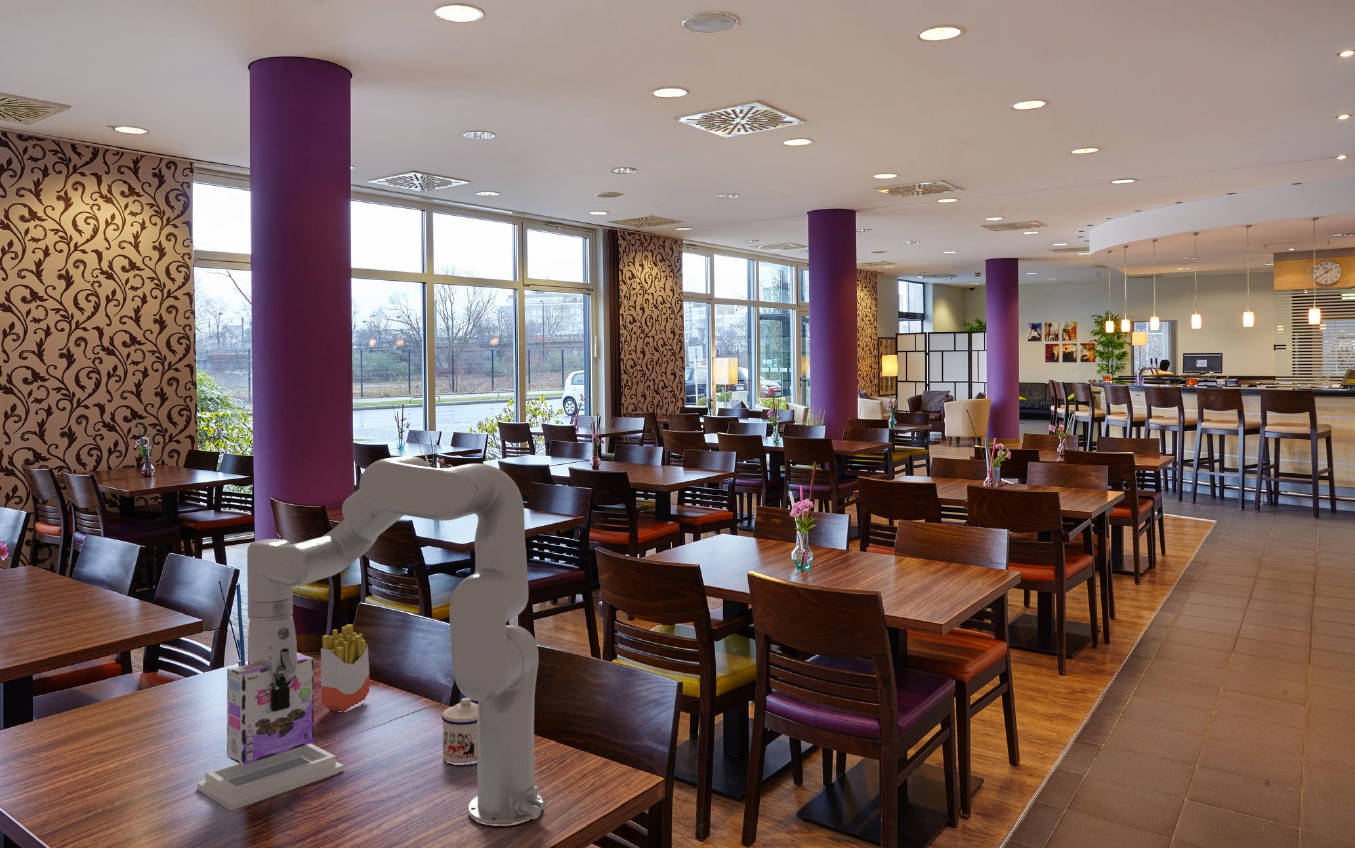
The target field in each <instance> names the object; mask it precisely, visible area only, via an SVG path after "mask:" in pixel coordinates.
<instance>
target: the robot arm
mask: <svg viewBox="0 0 1355 848" xmlns="http://www.w3.org/2000/svg"><path fill="white" fill-rule="evenodd" d="M341 511H342V516H343V520H342V521H341V522H340V523H338V525H336V526H335V527H333V528H332V529H331V530H329V531H328V532H327V533H325V534H324V535H323V536H320V537H316V538H312V539H311V538H310V539H309V540H305V541H301V542H296V543H290V541H288V540H286V539H281V538H266V539H260V540H256V541H253V542H251V543H250V544H249V545H248V547H247V550H246V551H247V553H246V554H247V555H246V558H247V559H246V564H247V567H246V569H247V571H246V573H247V575H246V576H247V578H246V579H247V584H246V585H247V619H248V620H249V621H248V634H247V635H248V636H247V659H248V663H249V664H253V663H255V664H258V665H261V666H263V667H265V668H266V669H267V670H268V673H270V674H271V675H272V684H273V689H272V690H271V711H273V712H275V711H279V710H283V709H286V708H289V706H290V689H289V687H290V686H291V681H292V678H293V676H294V675H295V670H294V669H296V667H297V653H298V648H297V646H298V645H297V634H296V628H295V620H294V616H293V614H294V612H293V611H294V609H293V607H294V604H293V603H294V602H293V598H294V597H293V595H294V594H293V589H294V588H293V587H301V586H305V585H308V584H312V583H314V582H317V581H320V580H323V579H326V578H329V577H333V576H336V575H337V574H339V573H340V572H342V571H344V570H345V569H347V568H348V567H349V566H350V565H352V564H354V562H356V561H357V560H358V559H360V558H361V557H362V556H363V555H365V553H367V552H368V551H369V550H370V549H371V548H372V546H373V545H374V544H375V542H376V541H377V539H378V538H379V536H380V535H381V534H383V533H384V532H385V531H386V530H387V529H389V528H390V527H391V526H393V525H394V524H395V523H397V521H399V520H400V519H402V518H403V517H405V516H407V517H414V518H419V519H424V520H425V519H427V520H433V521H443V522H444V521H452V520H453V521H454V520H457V519H460V518H461V519H462V518H463V517H467V516H470V515H474V514H475V515H476V516H477V525H476V529H475V530H476V531H475V533H474V535H475V536H474V552H475V553H474V554H475V570H474V573H473V574H470V575H469V576H467V577H465V578H464V579H463V580H462V581H460V582H459V583H458V585H457V586H456V587H455V588H454V591H453V593H452V595H451V599H450V603H449V628H450V629H449V633H450V647H451V648H450V650H451V652H450V653H451V665H452V674H453V678H454V681H455V684H456V685H457V688H458V689H459V691H460V692H461V693H462V695H464V696H465V698H469V699H471V701H475V702H478V703H477V704H478V722H477V764H476V765H477V771H476V772H477V774H476V775H477V777H476V779H477V781H476V783H477V784H476V785H477V789H476V790H477V793H476V797H474V798H473V799H472V800H471V801H470V802H469V804H468V807H467V812H468V813H469V815H470V816H471V818H473V819H474V820H478V821H479V822H484V823H486V824H511V823H514V822H519V821H522V820H526V819H528V818H533V819H532V820H536V819H538V818H539V817H540V815H541V813H542V811H543V810H545V808H546V807H547V802H546V801H544V800H543V798H542V797H541V795H540V794H538V786H535V694H536V683H537V677H538V676H537V675H538V668H539V656H540V655H539V649H538V645H537V642H536V640H535V637H534V636H533V634H532V633H531V632H530V631H529V630H527V629H525V628H524V627H522V626H519V625H516V624H515V625H514V624H509V625H507V622H509V621H511V620H512V619H515V618H516V617H517V616H519V615H520V614H521V613H522V612H523V611H524V610H525V609H526V607H527V604H528V602H529V580H528V561H527V547H526V535H525V533H526V530H525V529H526V528H525V525H526V524H525V506H524V501H523V497H522V494H521V492H520V488H519V487H518V486H517V484H516V482H515V481H514V479H512V478H511V476H509V475H508V474H507V473H506V472H504V471H503V470H501V469H500V468H498V467H495V466H493V465H489V464H486V463H467V464H462V465H461V464H460V465H457V466H452V467H447V468H446V467H445V468H435V467H432V466H431V465H430V463H429V462H427V461H426V460H425V459H423V458H421V457H418V456H414V455H404V456H403V455H402V456H396V457H389V458H387V457H386V458H383V459H382V458H381V459H379V460H378V459H377V461H374V462H373V463H371V464H369V465H368V466H367V467H366V469H364V471H363V472H362V475H361V476H360V480H359V489H357V490H356V491H355V492H353V493H352V494H351V495H350V496H349V497H347V498H346V499H345V500H344V502H343V503H342V508H341ZM252 609H255V610H253V611H252ZM256 610H257V611H256ZM280 667H283V670H280V671H277V670H276V669H277V668H280ZM279 674H283V676H281V677H280V679H279V680H278V679H277V675H279ZM541 810H542V811H541ZM468 813H467V814H468ZM469 815H468V816H469ZM471 818H470V819H471Z"/></svg>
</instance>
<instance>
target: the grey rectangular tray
mask: <svg viewBox="0 0 1355 848" xmlns="http://www.w3.org/2000/svg"><path fill="white" fill-rule="evenodd" d="M336 758H337V755H335V754H332V753H330V752H329V751H326V750H325V749H322V748H320V747H318V746H316V745H315V744H314V743H311V744H308V745H305V746H302V747H298V748H295V749H293V750H289V751H286V752H283V753H280V754H277V755H274V756H271V757H268V758H265V759H261V760H259V761H256V762H253V763H250V764H247V765H241V764H239V763H237V762H234V763H231V764H228V765H225V766H222V767H218V768H216V769H211V770H209V771H206V772H204V773H205V774H204V777H205V778H204V779H203V780H200V781H198V782H196V790H198V791H199V792H200V793H202V794H204V795H206V796H207V797H209V798H210V799H211V800H213V801H215V802H216V803H217V804H218V805H221V806H222V807H223V808H225V809H227V810H228V811H230V812H232V811H234V810H239V809H240V808H243V807H246V806H249V805H252V804H254V803H257V802H260V801H263V800H267V799H269V798H272V797H274V796H277V795H280V794H283V793H286V792H289V791H292V790H295V789H297V788H300V787H303V786H305V785H309V784H312V783H315V782H319V781H320V780H323V779H326V778H330V777H332V776H334V775H337V774H340V773H339V772H341V773H343V772H342V771H344V770H345V769H344V768H345V767H344V764H342V763H340V762H338V761H337V759H336Z"/></svg>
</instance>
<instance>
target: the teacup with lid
mask: <svg viewBox="0 0 1355 848" xmlns="http://www.w3.org/2000/svg"><path fill="white" fill-rule="evenodd" d="M441 720H442V752H443V753H442V759H443V758H444V759H445V760H446V761H449V762H452V763H467V762H471V761H476V760H477V722H478V703H475V702H472V700H471V699H469V698H468V697H463V698H461V700H460V702H459V703H456V704H455V705H453V706H450V707H448V708H446V709H444V711H443V712H442V714H441ZM444 759H443V760H444Z"/></svg>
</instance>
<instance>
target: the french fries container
mask: <svg viewBox="0 0 1355 848" xmlns="http://www.w3.org/2000/svg"><path fill="white" fill-rule="evenodd" d="M338 631H339V630H338V629H336V628H335V629H332V635H328V634H324V635H322V637H321V638H322V647H321V648H320V675H321V676H320V683H321V684H320V687H321V688H320V693H321V694H320V695H321V697H320V698H321V702H320V703H321V705H322V706H324V707H325V708H326V709H327V710H329V711H330V710H334V711H333V712H335V711H342V712H344V711H346V710H347V709H348V708H350V707H351V706H354V705H355V704H358V703H359V702H361V701H362V700H364V701H365V699H366V697H367V696H368V695H369V692H370V661H369V646H368V644H367V642H366V640H365V639H364V638H363V633H358V632H354V624H350V623H348V624H346V625H345V626H342V627H341V632H340V633H339V632H338Z"/></svg>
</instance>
